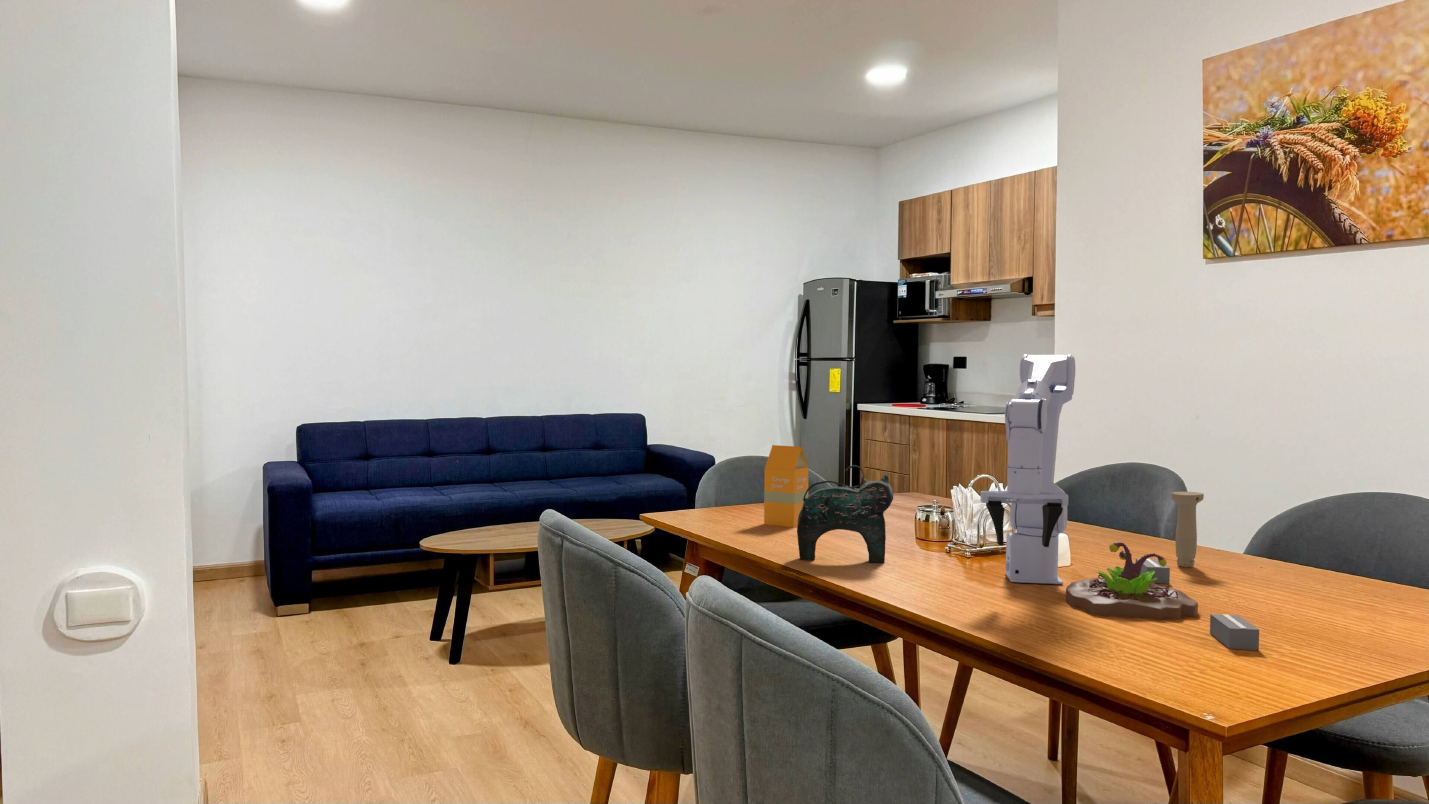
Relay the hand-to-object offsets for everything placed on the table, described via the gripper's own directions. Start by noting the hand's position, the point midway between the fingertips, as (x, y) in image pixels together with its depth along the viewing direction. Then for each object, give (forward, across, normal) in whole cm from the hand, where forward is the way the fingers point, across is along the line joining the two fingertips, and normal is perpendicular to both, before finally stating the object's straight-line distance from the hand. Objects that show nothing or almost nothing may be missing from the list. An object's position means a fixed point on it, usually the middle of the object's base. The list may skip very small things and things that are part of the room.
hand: (1022, 545), depth 167 cm
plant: (+10, +17, 0) cm, 20 cm away
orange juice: (+8, -45, +72) cm, 86 cm away
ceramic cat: (+9, -30, +29) cm, 43 cm away
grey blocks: (+9, +28, 0) cm, 29 cm away
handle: (+8, +39, +33) cm, 52 cm away
